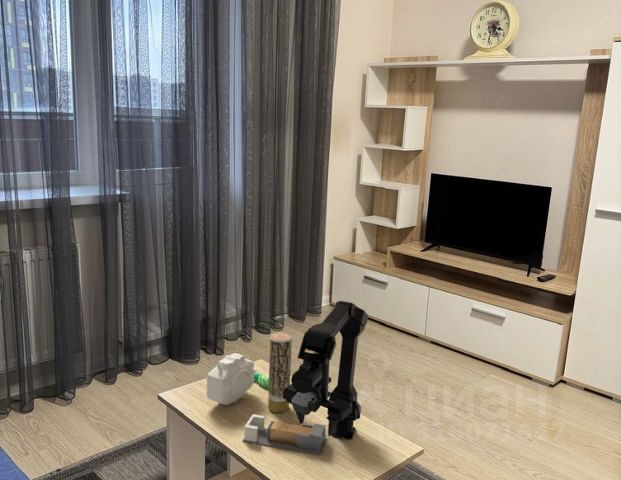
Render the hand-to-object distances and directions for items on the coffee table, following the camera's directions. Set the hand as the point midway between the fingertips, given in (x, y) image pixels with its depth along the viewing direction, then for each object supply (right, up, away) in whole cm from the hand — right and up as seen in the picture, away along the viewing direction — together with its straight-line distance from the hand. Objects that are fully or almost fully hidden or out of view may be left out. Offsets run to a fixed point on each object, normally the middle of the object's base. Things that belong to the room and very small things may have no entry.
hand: (315, 429), depth 155 cm
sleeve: (-1, -10, +17) cm, 19 cm away
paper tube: (-12, -5, +36) cm, 39 cm away
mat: (-9, -9, +18) cm, 22 cm away
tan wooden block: (-6, -9, +18) cm, 21 cm away
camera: (-27, -3, +40) cm, 48 cm away
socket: (-18, -8, +20) cm, 28 cm away
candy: (-18, -1, +52) cm, 54 cm away
